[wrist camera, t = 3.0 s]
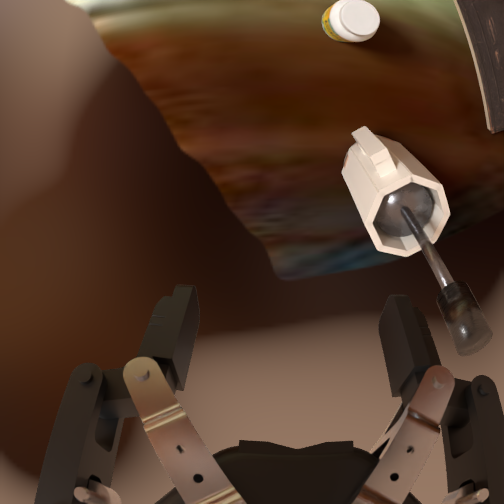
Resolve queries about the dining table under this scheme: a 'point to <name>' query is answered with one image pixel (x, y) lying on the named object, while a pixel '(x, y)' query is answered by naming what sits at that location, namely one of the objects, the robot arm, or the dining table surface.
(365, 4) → the supplement bottle
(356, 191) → the octagonal white mug
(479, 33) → the hardcover book
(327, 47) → the dining table surface
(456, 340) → the plunger
